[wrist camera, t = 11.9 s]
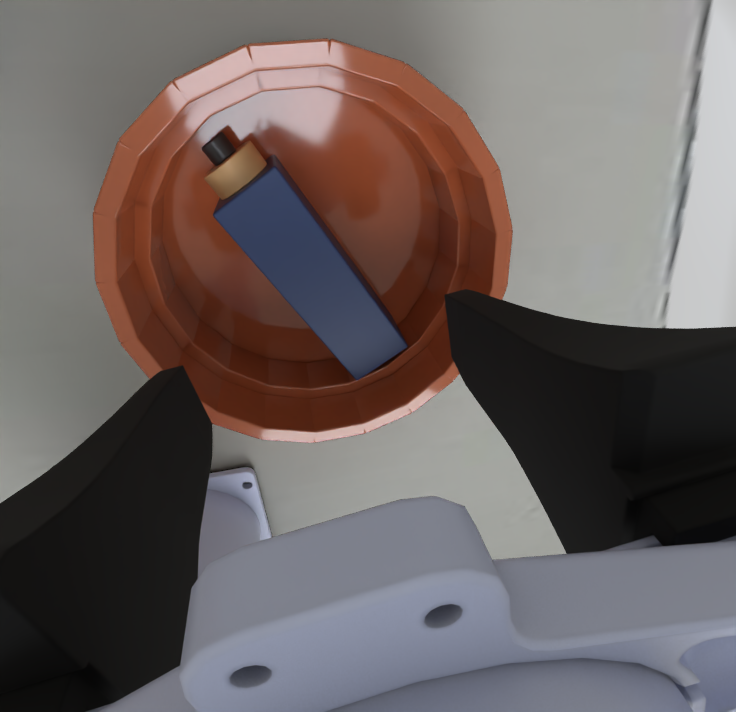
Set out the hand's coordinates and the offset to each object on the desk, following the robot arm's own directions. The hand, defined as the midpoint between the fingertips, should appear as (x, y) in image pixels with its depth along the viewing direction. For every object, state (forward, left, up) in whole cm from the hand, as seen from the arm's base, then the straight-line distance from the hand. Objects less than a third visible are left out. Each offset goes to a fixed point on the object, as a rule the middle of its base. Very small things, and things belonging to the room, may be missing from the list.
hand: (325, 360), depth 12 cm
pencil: (0, 0, -8) cm, 8 cm away
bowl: (+1, 0, -8) cm, 8 cm away
